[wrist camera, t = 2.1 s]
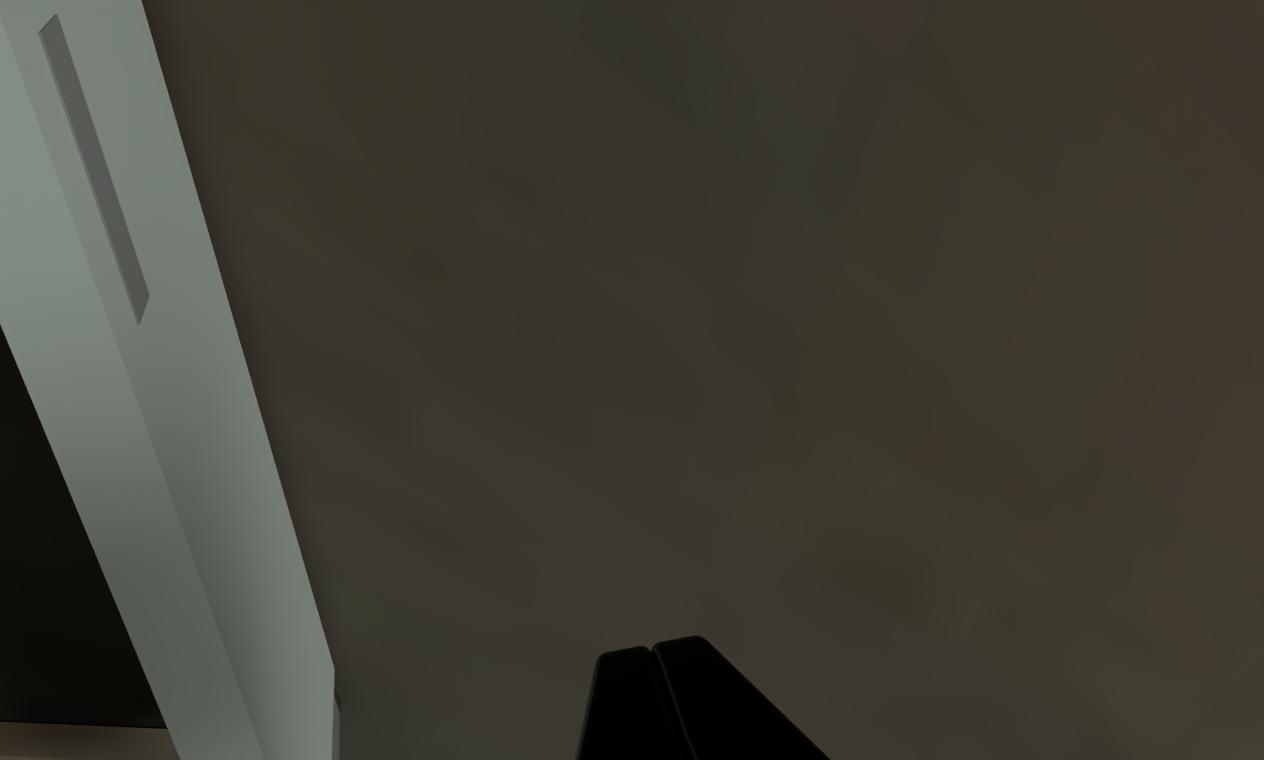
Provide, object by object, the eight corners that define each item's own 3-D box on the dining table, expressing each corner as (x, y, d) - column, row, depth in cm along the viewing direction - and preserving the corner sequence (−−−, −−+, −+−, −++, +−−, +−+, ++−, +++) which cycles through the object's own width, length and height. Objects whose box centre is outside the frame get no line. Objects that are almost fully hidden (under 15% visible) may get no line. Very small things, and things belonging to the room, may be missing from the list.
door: (349, 714, 23) (344, 986, 18) (295, 724, 22) (277, 1000, 18) (108, -120, 14) (-14, -21, 10) (23, -112, 14) (-142, -7, 10)
